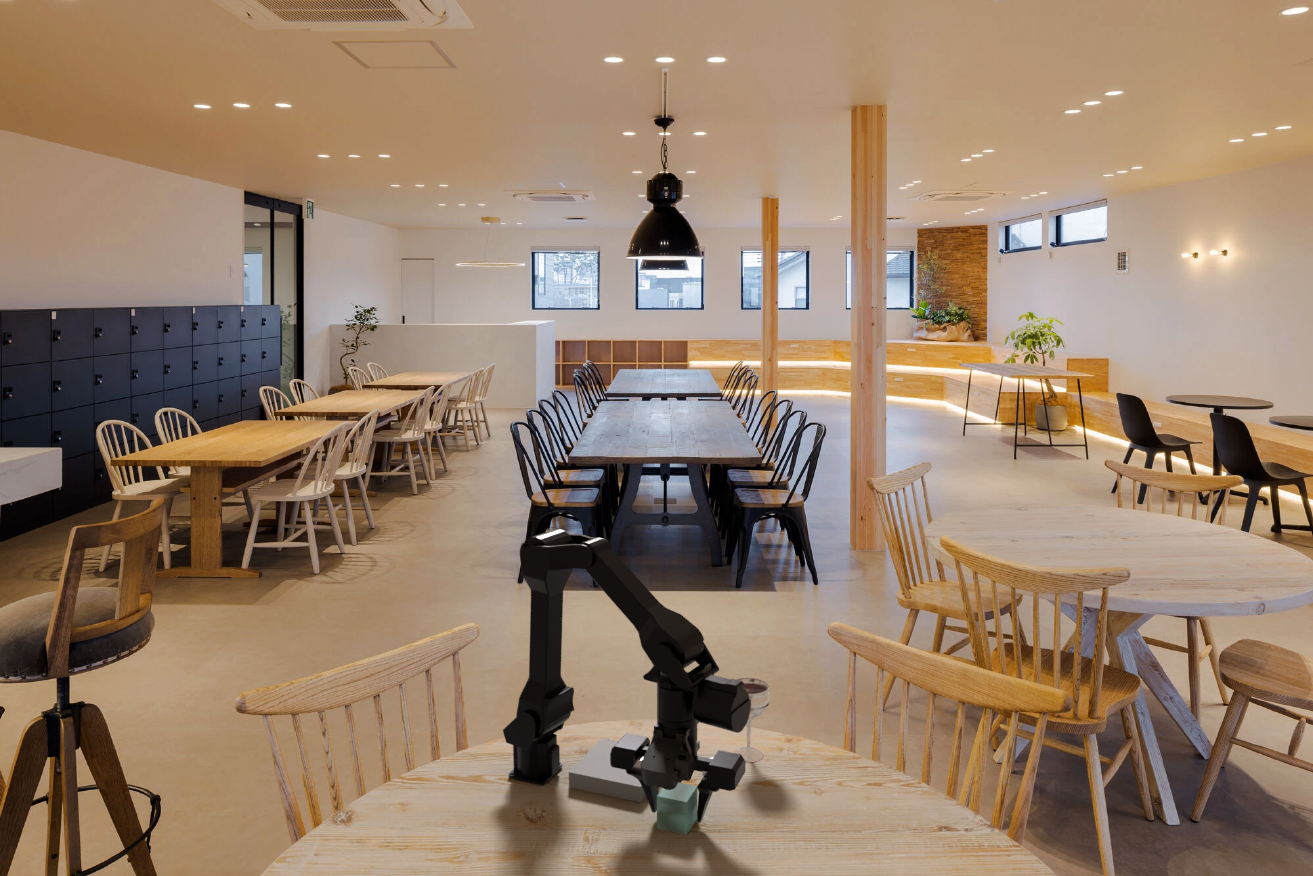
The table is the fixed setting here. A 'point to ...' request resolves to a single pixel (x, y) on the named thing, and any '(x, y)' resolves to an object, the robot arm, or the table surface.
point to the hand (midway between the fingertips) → (677, 816)
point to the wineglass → (754, 713)
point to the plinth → (604, 774)
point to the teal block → (677, 808)
